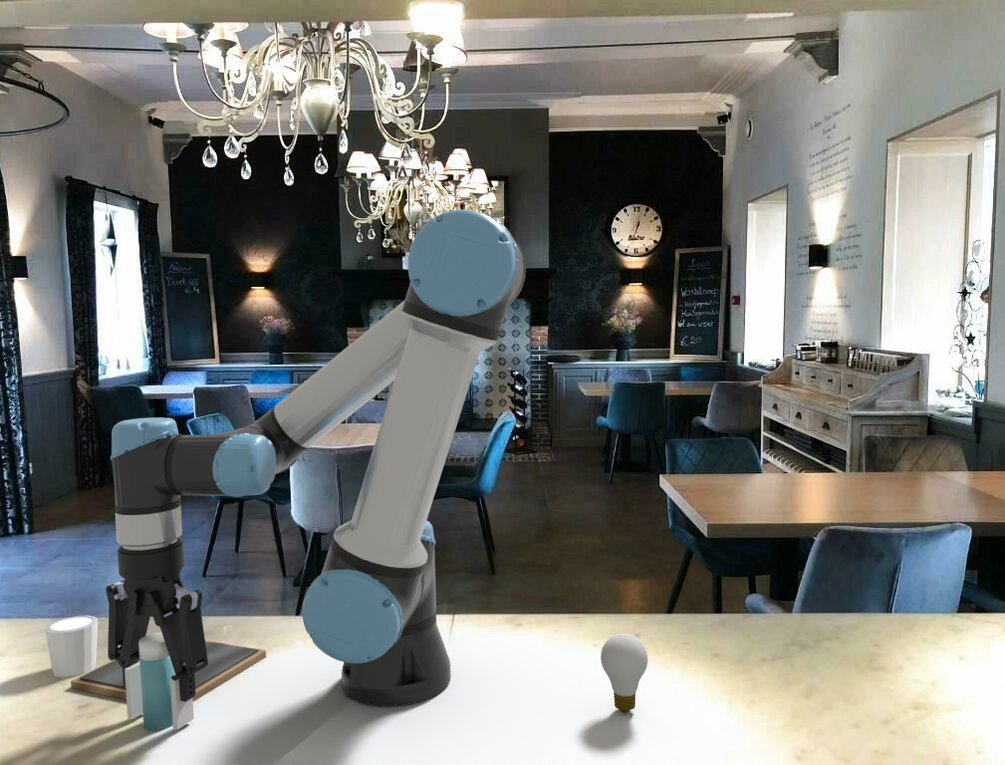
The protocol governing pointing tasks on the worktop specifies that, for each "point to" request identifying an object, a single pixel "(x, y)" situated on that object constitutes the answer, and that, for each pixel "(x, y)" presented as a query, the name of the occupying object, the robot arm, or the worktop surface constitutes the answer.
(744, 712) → the worktop surface
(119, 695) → the slate board
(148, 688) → the teal bottle
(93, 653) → the white tapered cup
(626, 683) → the light bulb
